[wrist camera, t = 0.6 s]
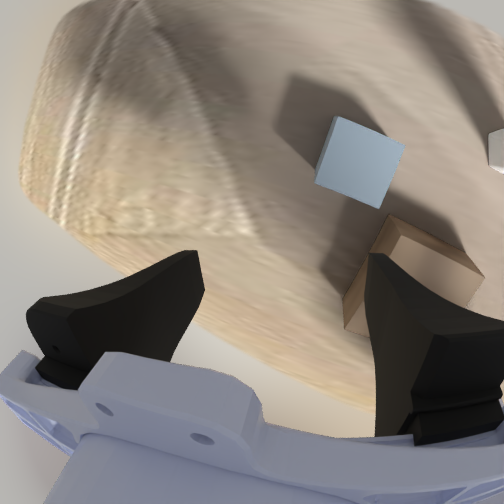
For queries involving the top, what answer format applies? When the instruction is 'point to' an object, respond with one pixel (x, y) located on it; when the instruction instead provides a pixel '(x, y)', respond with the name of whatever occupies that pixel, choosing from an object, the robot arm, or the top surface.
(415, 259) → the walnut block
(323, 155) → the slate-blue cube
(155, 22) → the top surface
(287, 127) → the top surface
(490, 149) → the perfume bottle
